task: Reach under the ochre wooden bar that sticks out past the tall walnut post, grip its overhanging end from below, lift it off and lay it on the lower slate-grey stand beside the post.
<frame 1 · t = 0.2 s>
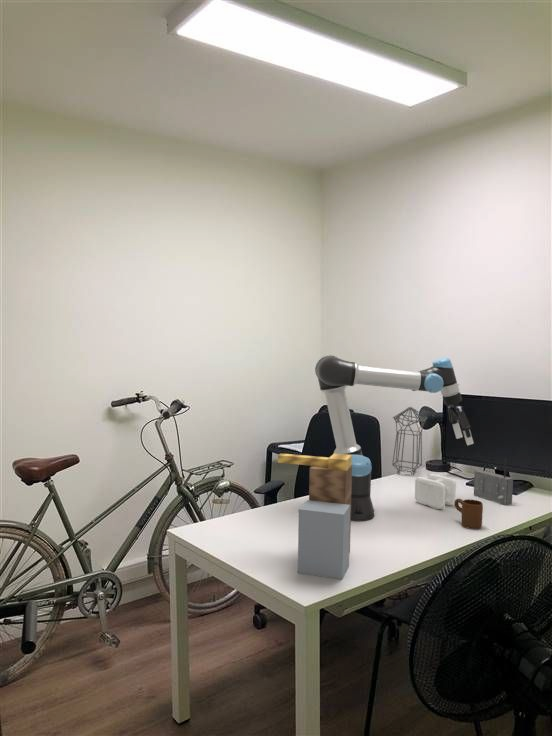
hand: (464, 441, 248), 28 cm above the table, tool tilted 20°, fingers open, 13 cm apart
walnut post: (329, 554, 193), on the table
mug: (466, 524, 225), on the table
geometric lantern: (408, 473, 303), on the table
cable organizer: (434, 505, 250), on the table
handle bar: (313, 464, 193), point 30 cm above the table, touching walnut post
grey stand: (323, 569, 182), on the table
electronic device: (490, 500, 258), on the table
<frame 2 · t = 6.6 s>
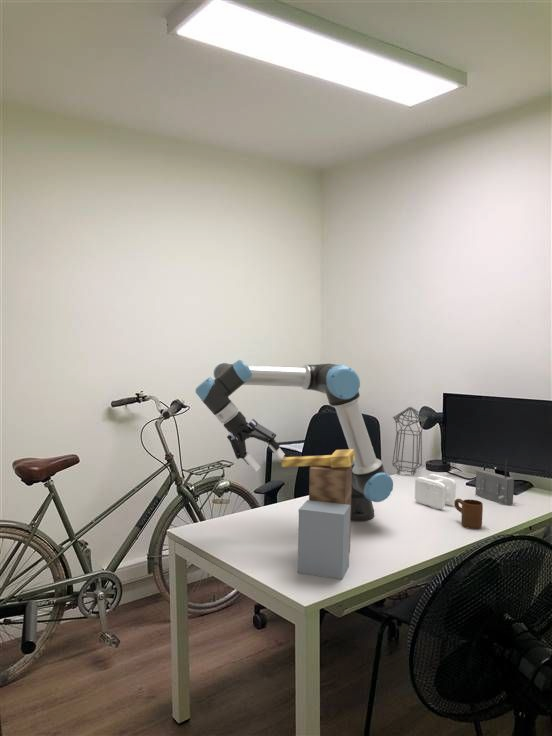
hand: (270, 463, 202), 28 cm above the table, tool tilted 40°, fingers open, 13 cm apart
handle bar: (317, 464, 192), point 30 cm above the table, tilted 10°, touching gripper, walnut post
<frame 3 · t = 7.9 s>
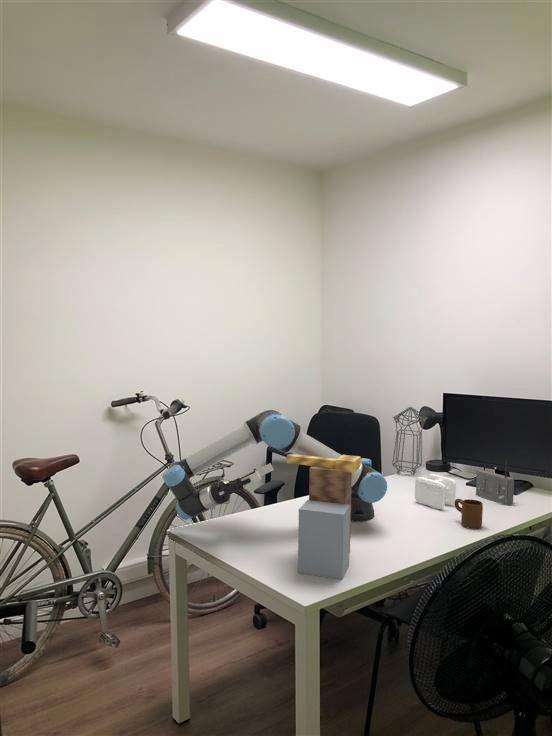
hand: (265, 470, 199), 26 cm above the table, tool pointing upward, fingers open, 13 cm apart
handle bar: (321, 465, 192), point 30 cm above the table, touching walnut post
everything else where it was.
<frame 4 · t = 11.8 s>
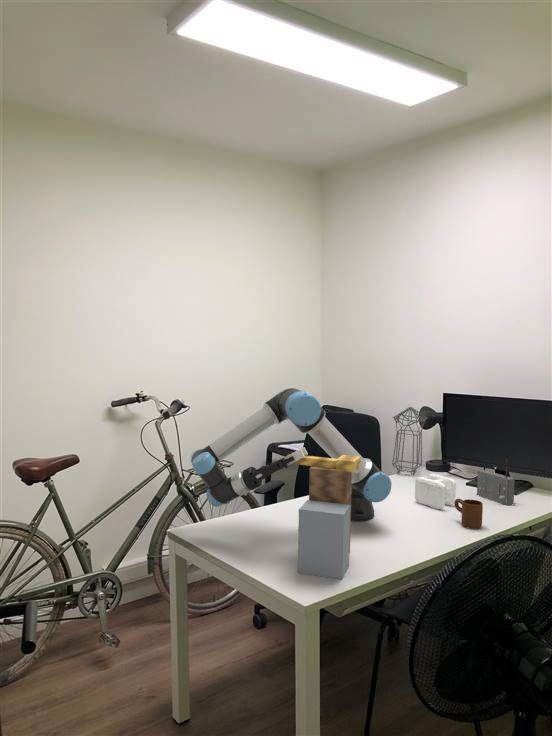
hand: (304, 452, 194), 34 cm above the table, tool pointing upward, fingers open, 3 cm apart
handle bar: (321, 465, 192), point 30 cm above the table, touching gripper, walnut post
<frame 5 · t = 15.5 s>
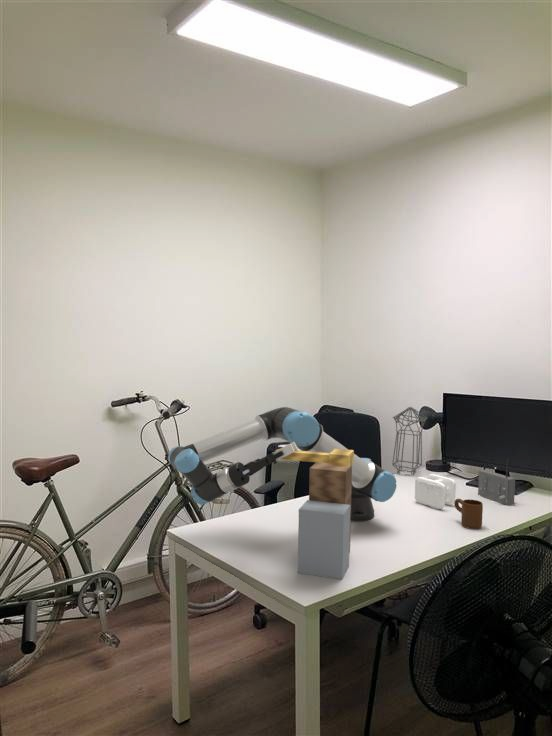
hand: (294, 446, 182), 38 cm above the table, tool pointing upward, fingers closed on handle bar, 3 cm apart
handle bar: (313, 460, 181), point 34 cm above the table, touching gripper
when the fingers open (25 cm above the table, at t = 18.8 s): handle bar drops 2 cm, resting on grey stand.
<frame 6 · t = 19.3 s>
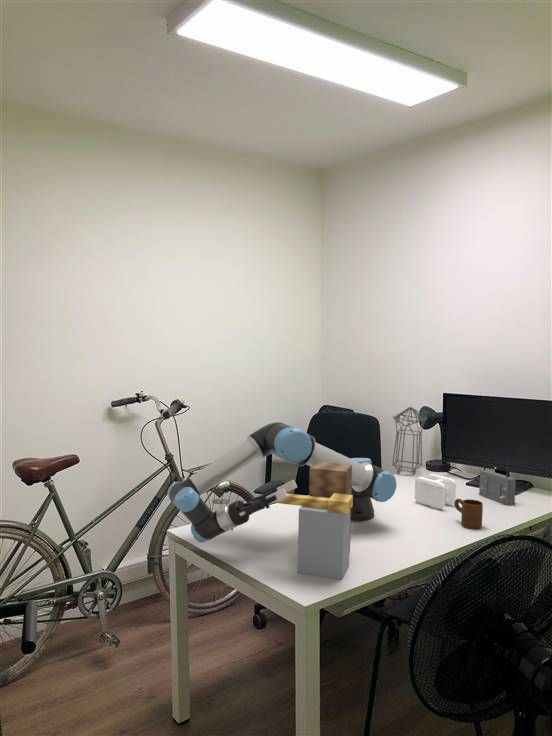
hand: (290, 487, 183), 25 cm above the table, tool pointing upward, fingers open, 10 cm apart
handle bar: (312, 505, 182), point 20 cm above the table, touching grey stand
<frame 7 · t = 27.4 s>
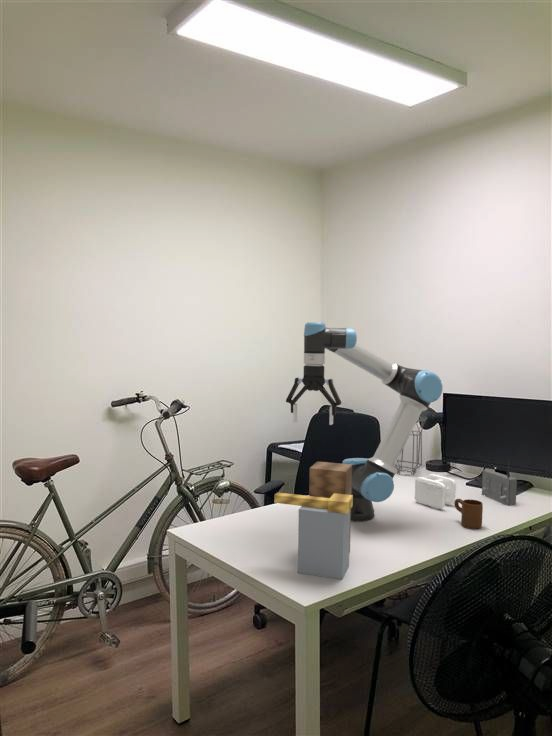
hand: (312, 423, 212), 41 cm above the table, tool pointing down, fingers open, 13 cm apart
at the end: handle bar inside the target area on the grey stand (2.4 cm from its centre), point 20.0 cm above the grey stand's base; the gripper is holding nothing; handle bar tilted 0° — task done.
